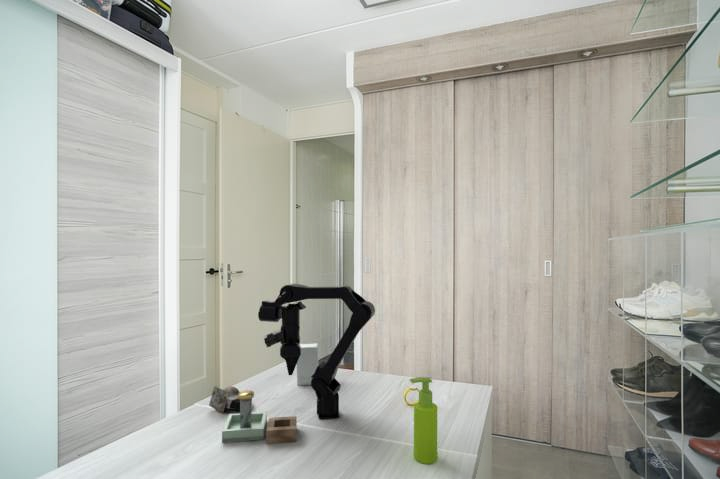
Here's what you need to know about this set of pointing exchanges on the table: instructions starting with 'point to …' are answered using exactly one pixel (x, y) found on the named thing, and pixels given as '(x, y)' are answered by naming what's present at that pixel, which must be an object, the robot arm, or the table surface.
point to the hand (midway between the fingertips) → (290, 370)
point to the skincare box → (307, 363)
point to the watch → (413, 388)
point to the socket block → (281, 430)
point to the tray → (236, 433)
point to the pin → (246, 408)
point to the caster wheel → (225, 398)
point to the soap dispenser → (425, 424)
